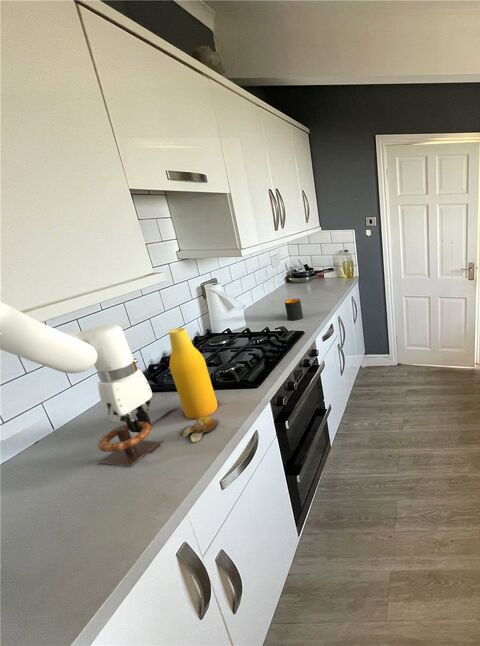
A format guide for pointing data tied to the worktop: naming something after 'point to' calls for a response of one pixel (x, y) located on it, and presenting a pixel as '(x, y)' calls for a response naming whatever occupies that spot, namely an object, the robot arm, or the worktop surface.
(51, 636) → the worktop surface
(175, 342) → the beer bottle
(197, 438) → the fruit
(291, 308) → the mug
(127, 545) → the worktop surface
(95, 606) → the worktop surface
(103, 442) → the ring
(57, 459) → the worktop surface
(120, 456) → the brown peg stand
